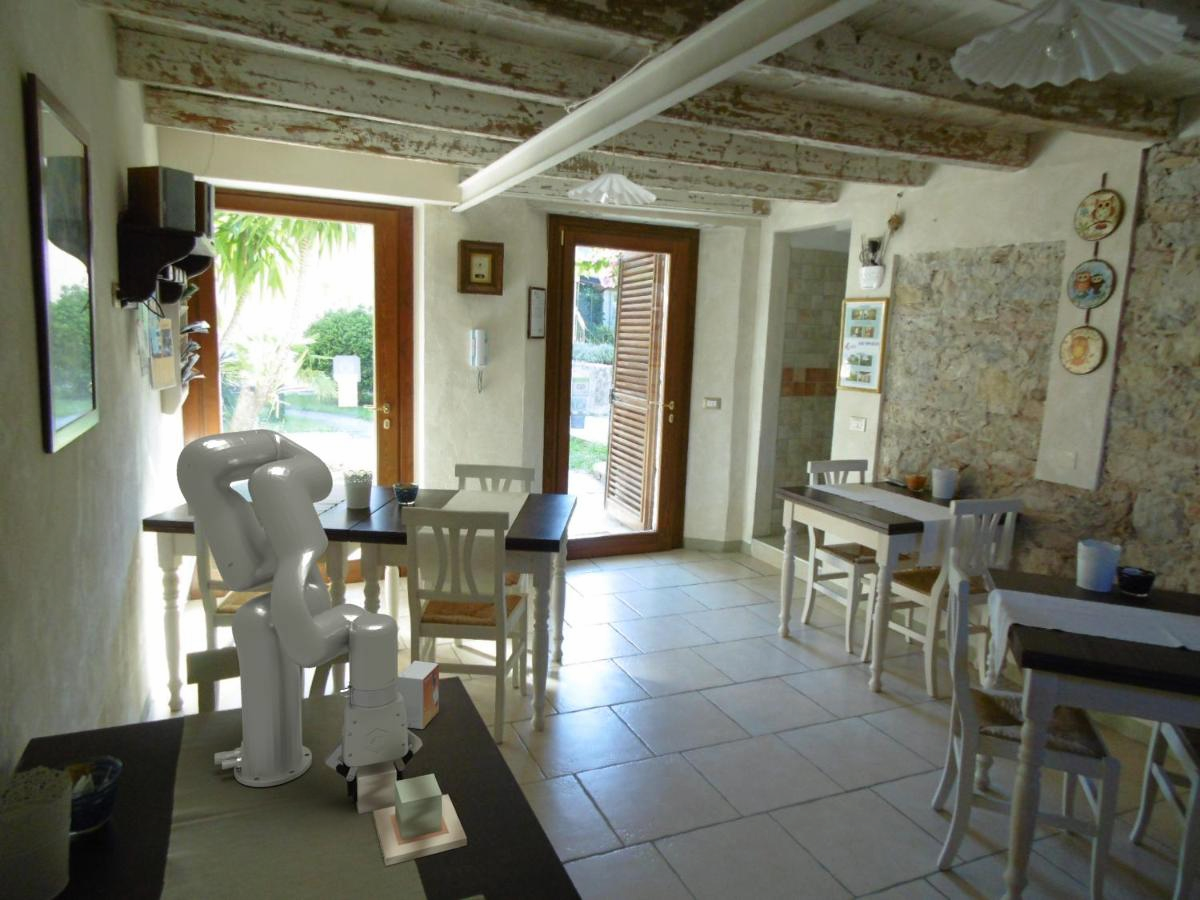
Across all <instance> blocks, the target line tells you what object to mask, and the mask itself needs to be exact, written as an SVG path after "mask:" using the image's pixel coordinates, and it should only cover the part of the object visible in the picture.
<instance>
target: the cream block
mask: <svg viewBox="0 0 1200 900" xmlns="http://www.w3.org/2000/svg"><path fill="white" fill-rule="evenodd" d="M356 778H357V803H355V804H356V808H357V812H358V814H363V813H364V812H365V813H369V812H373V811H375V810H380V809H384V808H389V807H393V806H395V781H397V771H396V768H395V765H394V760H390V761H386V762H381V763H376V764H371V765H365V766H360V767H358V769H357V772H356ZM368 811H369V812H368Z"/></svg>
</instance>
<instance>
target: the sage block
mask: <svg viewBox="0 0 1200 900" xmlns="http://www.w3.org/2000/svg"><path fill="white" fill-rule="evenodd" d="M442 795H443V793H442V791H441V789H440V786H439V783H438V780H437V779H436V777H435V773H430V774H425V775H420V776H416V777H415V776H414V777H411V778H410V777H409V778H405V779H403V780H400V781H395V817H396V821H397V824H398V828H399V831H400V835H401V838H402V840H405V839H409V838H413V837H417V836H421V835H425V834H429V833H434V832H438V831H442Z"/></svg>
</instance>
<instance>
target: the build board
mask: <svg viewBox="0 0 1200 900" xmlns="http://www.w3.org/2000/svg"><path fill="white" fill-rule="evenodd" d="M372 812H373V813H372V815H373V816H372V818H373V822H374V827H375V830H376V834H377V837H378V841H380V842H379V845H380V849H381V850H380V851H381V853H383V854H382V857H384V858H383V861H384V865H385V867H387V866H391V865H394V864H395V865H396V864H401V863H403V862H404V863H405V862H407V861H411V860H414V859H419V858H422V857H427V856H431V855H434V854H438V853H442V852H445V851H450V850H453V849H458V848H462V847H466V846H467V845H468V844H467V843H468V840H467V839H468V837H467V836H466V832H465V830H464V828H463V826H462V824H461V821H460V819H459V817H458V815H457V812H456V809H455V807H454V805H453V803H452V800H451V798H450V796H449V793H447V794H442V831H438V832H434V833H429V834H425V835H421V836H417V837H413V838H409V839H405V840H402V838H401V835H400V831H399V828H398V824H397V821H396V817H395V806H392V807H387V808H383V809H378V810H374V811H372Z"/></svg>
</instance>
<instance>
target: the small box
mask: <svg viewBox="0 0 1200 900" xmlns="http://www.w3.org/2000/svg"><path fill="white" fill-rule="evenodd" d="M398 692H400V693H401V695H402V696H403V699H404V704H405V709H406V718H407V728H409V729H417V730H418V729H419V730H425V728H426V726H428V724H429V723H430V722H431V721H432V719H433V718H435V717H436V715H437V714H438V713H439V710H440V702H439V701H440V664H439V663H437V662H436V663H435V662H430V661H429V662H427V661H422V660H421V661H420V660H413V662H412V663H411V664H409V666H408V667H407V668H406V669H404V671H402V672H401V673H400V674H398Z"/></svg>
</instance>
